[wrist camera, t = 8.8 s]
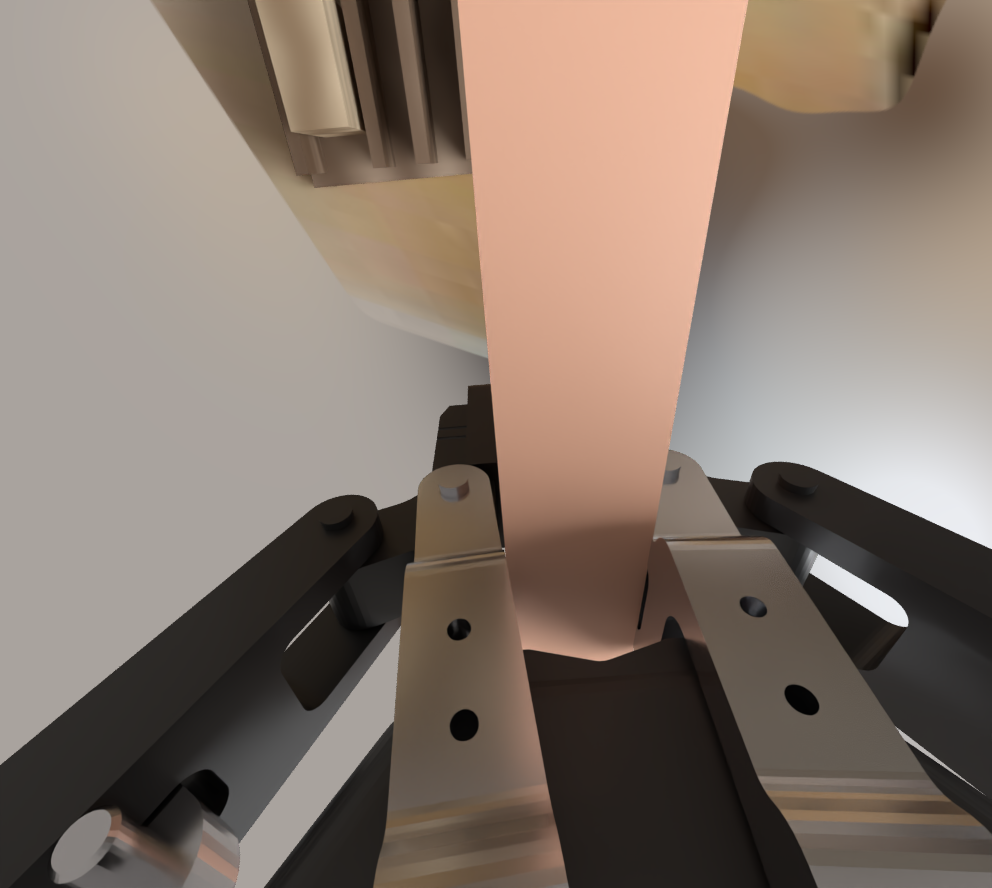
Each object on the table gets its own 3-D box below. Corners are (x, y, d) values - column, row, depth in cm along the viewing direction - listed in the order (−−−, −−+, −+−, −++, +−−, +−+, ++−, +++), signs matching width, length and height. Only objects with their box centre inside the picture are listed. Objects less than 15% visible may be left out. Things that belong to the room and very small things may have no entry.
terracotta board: (518, 20, 16) (1119, -2086, 1) (532, 457, 27) (601, 828, 12) (465, 25, 16) (284, -1992, 1) (500, 459, 27) (529, 833, 12)
